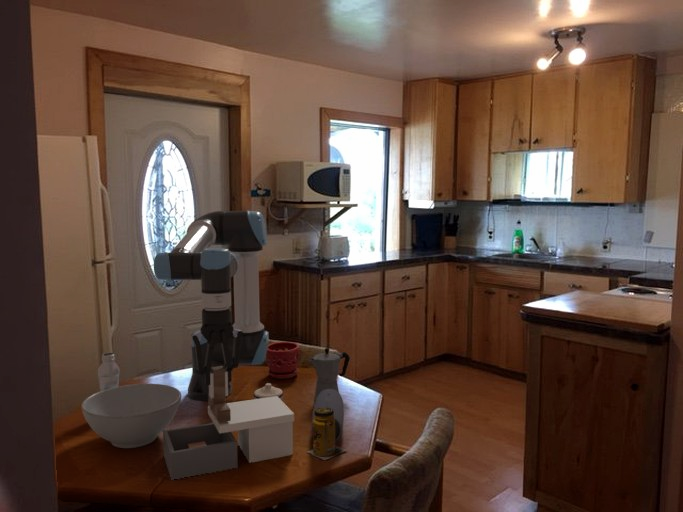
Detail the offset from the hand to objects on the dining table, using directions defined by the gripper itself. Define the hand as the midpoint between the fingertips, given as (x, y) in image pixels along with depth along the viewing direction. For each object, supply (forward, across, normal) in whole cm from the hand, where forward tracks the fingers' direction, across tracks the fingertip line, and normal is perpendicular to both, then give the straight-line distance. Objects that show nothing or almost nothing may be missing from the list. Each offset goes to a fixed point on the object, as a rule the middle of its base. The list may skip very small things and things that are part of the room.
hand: (218, 395), depth 151 cm
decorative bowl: (+18, -20, +22) cm, 35 cm away
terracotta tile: (+14, -5, +3) cm, 15 cm away
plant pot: (+18, +38, +61) cm, 74 cm away
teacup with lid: (+18, +20, +21) cm, 34 cm away
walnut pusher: (+5, 0, 0) cm, 5 cm away
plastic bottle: (+18, -26, +44) cm, 54 cm away
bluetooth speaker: (+18, +33, +4) cm, 37 cm away
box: (+17, -6, 0) cm, 18 cm away
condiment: (+18, +28, -8) cm, 34 cm away
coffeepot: (+18, +44, +30) cm, 56 cm away
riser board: (+17, +8, 0) cm, 19 cm away
